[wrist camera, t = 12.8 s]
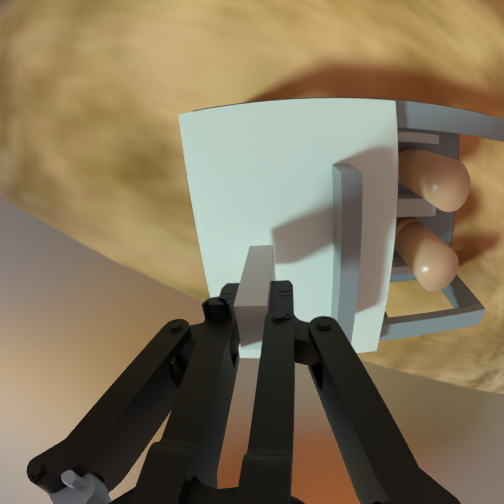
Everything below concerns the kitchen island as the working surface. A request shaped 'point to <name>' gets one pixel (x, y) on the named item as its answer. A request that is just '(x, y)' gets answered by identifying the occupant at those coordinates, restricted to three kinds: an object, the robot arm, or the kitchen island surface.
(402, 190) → the housing
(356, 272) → the lid
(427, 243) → the seated rounded capsule
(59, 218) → the kitchen island surface
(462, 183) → the pink rounded capsule
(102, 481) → the robot arm
